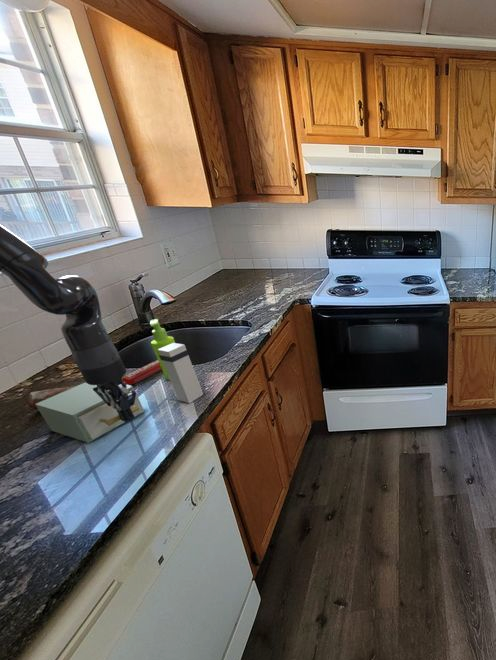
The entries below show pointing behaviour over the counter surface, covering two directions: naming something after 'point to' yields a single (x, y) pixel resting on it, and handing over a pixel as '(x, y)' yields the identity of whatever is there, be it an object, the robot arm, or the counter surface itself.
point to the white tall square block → (180, 372)
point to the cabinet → (71, 410)
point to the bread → (44, 395)
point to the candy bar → (142, 373)
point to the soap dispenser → (160, 341)
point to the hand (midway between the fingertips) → (128, 419)
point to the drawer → (104, 418)
